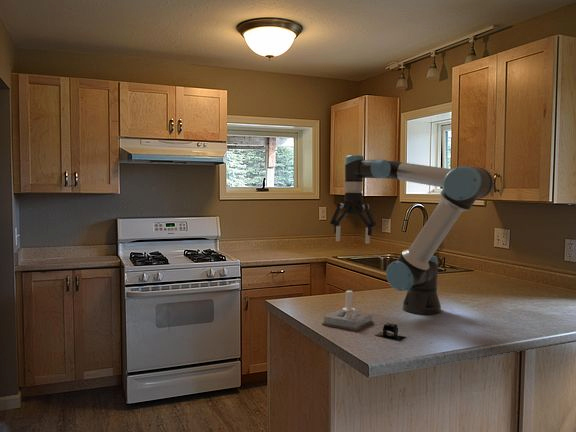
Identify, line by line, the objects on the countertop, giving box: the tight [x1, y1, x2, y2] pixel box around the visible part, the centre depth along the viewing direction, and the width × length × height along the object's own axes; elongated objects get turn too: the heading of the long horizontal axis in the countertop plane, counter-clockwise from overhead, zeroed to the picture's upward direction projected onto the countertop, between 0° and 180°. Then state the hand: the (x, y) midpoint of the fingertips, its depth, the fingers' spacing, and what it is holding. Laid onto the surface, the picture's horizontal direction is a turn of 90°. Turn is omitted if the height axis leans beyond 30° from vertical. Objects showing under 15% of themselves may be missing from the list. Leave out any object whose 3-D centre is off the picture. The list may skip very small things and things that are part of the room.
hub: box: [321, 308, 374, 332], centre depth 183 cm, size 14×14×3 cm
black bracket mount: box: [373, 322, 407, 342], centre depth 168 cm, size 12×7×5 cm, turn 54°
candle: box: [342, 289, 356, 319], centre depth 183 cm, size 5×5×12 cm
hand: (352, 242), depth 211 cm, fingers open, 13 cm apart
